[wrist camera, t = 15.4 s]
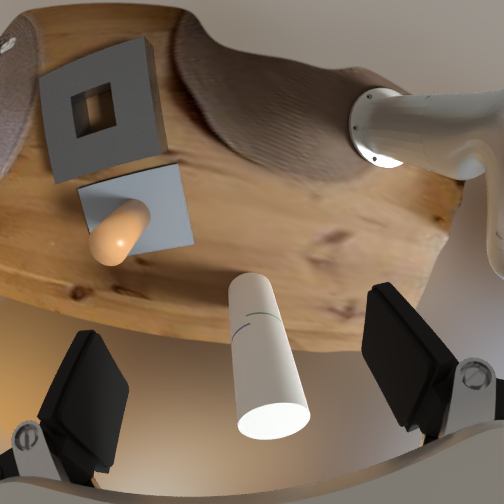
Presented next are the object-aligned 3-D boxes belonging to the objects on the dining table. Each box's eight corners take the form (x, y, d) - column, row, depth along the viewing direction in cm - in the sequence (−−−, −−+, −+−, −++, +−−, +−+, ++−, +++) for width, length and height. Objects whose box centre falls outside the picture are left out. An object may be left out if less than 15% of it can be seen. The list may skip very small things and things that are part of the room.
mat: (178, 163, 38) (177, 163, 37) (194, 242, 43) (194, 244, 43) (79, 188, 37) (77, 189, 37) (100, 259, 42) (99, 261, 42)
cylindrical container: (219, 288, 47) (222, 422, 24) (256, 264, 46) (288, 392, 23) (244, 316, 49) (263, 445, 27) (279, 294, 48) (321, 420, 26)
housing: (152, 45, 30) (144, 36, 26) (168, 151, 37) (161, 154, 33) (55, 81, 30) (38, 78, 25) (71, 177, 37) (55, 184, 32)
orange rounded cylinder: (145, 195, 39) (119, 220, 29) (154, 228, 41) (133, 261, 31) (114, 203, 39) (82, 230, 29) (124, 235, 41) (97, 269, 31)
